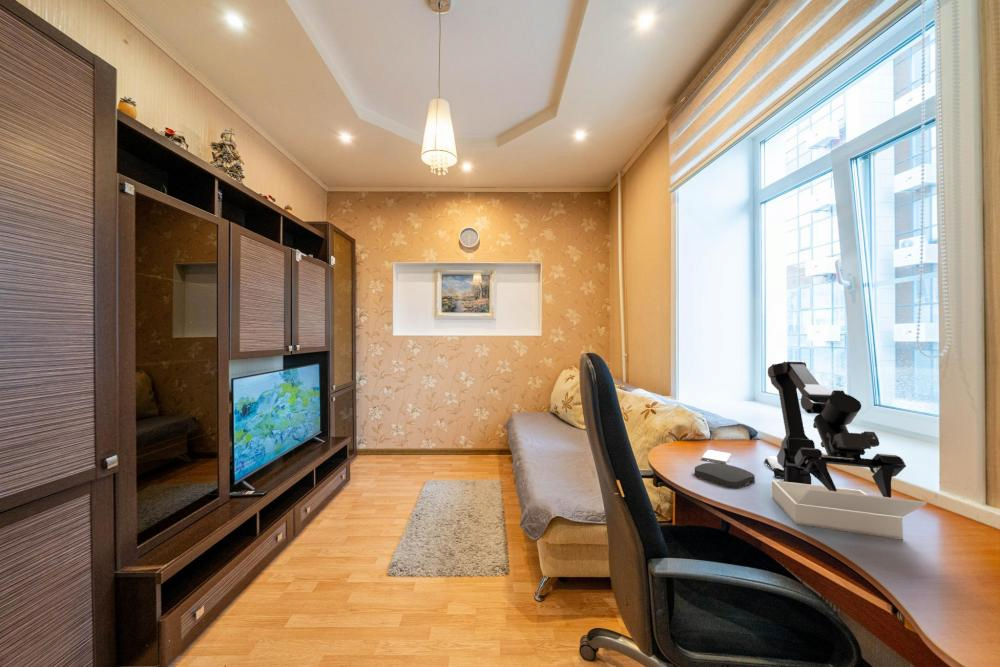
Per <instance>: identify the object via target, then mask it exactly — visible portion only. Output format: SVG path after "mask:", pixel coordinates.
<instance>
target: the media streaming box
mask: <svg viewBox="0 0 1000 667" xmlns="http://www.w3.org/2000/svg"><path fill="white" fill-rule="evenodd" d="M694 475H695V476H696V475H697V476H698V477H697V476H696V477H697V478H700V477H701V478H700V479H702V478H703V479H702V480H705V479H706V481H708V480H709V482H711V483H713V482H714V484H716V483H717V484H716V485H719V484H720V486H722V485H723V486H722V487H726V486H727V487H726V488H731V487H732V488H731V489H740V488H743V486H744V487H746V485H747V486H749V485H751V483H752V484H755V481H756V480H755V478H756V476H755V474H754V473H752V472H751V471H749V470H747V469H745V468H741V467H738V466H734V465H729V464H721V463H715V462H706V463H701V464H698V465H697V466H695V467H694ZM739 487H740V488H739Z"/></svg>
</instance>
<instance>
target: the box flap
mask: <svg viewBox="0 0 1000 667" xmlns="http://www.w3.org/2000/svg"><path fill="white" fill-rule="evenodd" d="M796 503H797V504H804V505H812V506H819V507H827V508H835V509H843V510H850V511H858V512H866V513H874V514H882V515H889V516H897V517H902V518H903V517H905V516H907V515H908V514H911V513H912V512H914V511H916V510H918V509H920V508H922V507H924V506H926V505H927V504H928V502H927V501H925V500H924V501H922V500H916V499H915V500H914V499H906V498H898V497H891V498H889V497H883V496H881V495H880V496H879V495H878V496H877V495H872V494H867V495H863V494H854V493H846V492H837V491H828V490H819V489H811V488H810V489H809V490H808V491H807V492H806V493H805V494H804V495H803V496H802V497H801V498H800V499H799V500H798V501H797V502H796Z"/></svg>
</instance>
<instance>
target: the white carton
mask: <svg viewBox="0 0 1000 667" xmlns="http://www.w3.org/2000/svg"><path fill="white" fill-rule="evenodd" d="M783 481H784V480H773V479H772V480H771V492H772V493H771V494H772V495H771V496H772V497H773V498H772V497H771V498H772V499H773V500H774V501H775V502H776V503H777V504H778V506H779V507H780V508H781V509H782V510H783V511H784V513H785V514H786V515H787V516H788V517H789V518H790V520H792V522H793V523H794V524H795V525H798V524H799V525H798V526H805V527H806V526H807V527H812V526H814V528H819V527H821V529H826V528H827V530H833V531H841V532H846V531H847V532H846V533H855V534H861V535H867V534H868V535H870V536H874V535H876V537H881V536H883V537H882V538H888V537H890V538H889V539H896V540H904V531H903V530H904V529H903V528H904V527H903V517H897V516H889V515H882V514H874V513H866V512H858V511H850V510H843V509H835V508H827V507H819V506H812V505H804V504H797V503H796V502H797V501H798V500H799V499H800V498H801V497H802V496H803V495H804V494H805V493H806V492H807V491H808V490H809V489H810V488H811V489H819V490H828V489H827V488H826V487H825V486H824V485H818V484H811V485H810V484H801V483H792V482H783ZM835 487H836V486H835ZM836 490H837V492H846V493H854V494H863V495H868V494H867V493H866V492H864V491H863V490H861V489H854V488H846V487H845V488H844V487H836ZM828 491H829V490H828Z"/></svg>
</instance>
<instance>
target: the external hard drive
mask: <svg viewBox="0 0 1000 667" xmlns="http://www.w3.org/2000/svg"><path fill="white" fill-rule="evenodd" d="M730 456H731V457H732V454H731V453H730V452H725V451H718V450H712V449H707V450H706V452H704V454H703V455H702V456H701V459H704V460H703V461H705V460H709V461H708V462H710V461H714V462H713V463H715V462H719V463H718V464H721V463H724V464H726V463H727V464H728V463H729V461H728V460H730V459H731V457H730ZM729 458H730V459H729ZM701 459H700V460H701ZM727 464H726V465H727Z"/></svg>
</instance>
